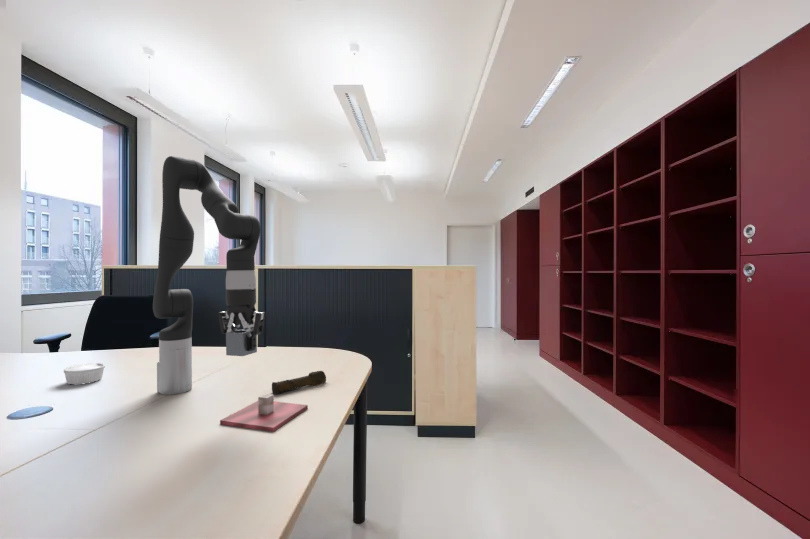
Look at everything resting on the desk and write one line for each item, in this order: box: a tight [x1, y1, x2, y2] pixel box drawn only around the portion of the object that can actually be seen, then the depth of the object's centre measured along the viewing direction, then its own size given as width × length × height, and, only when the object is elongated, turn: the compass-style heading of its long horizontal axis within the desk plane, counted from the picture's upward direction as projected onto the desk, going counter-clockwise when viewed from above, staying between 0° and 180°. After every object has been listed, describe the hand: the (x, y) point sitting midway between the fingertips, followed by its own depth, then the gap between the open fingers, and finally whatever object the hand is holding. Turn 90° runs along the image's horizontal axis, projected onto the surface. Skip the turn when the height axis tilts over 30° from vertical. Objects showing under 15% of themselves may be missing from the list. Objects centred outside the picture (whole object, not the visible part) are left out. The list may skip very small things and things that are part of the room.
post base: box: [219, 393, 309, 433], centre depth 105 cm, size 16×16×6 cm
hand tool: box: [271, 370, 327, 395], centre depth 129 cm, size 19×4×5 cm, turn 129°
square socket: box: [225, 329, 258, 357], centre depth 104 cm, size 5×5×6 cm
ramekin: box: [63, 362, 106, 385], centre depth 137 cm, size 11×11×5 cm
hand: (242, 349), depth 104 cm, fingers closed on square socket, 5 cm apart
